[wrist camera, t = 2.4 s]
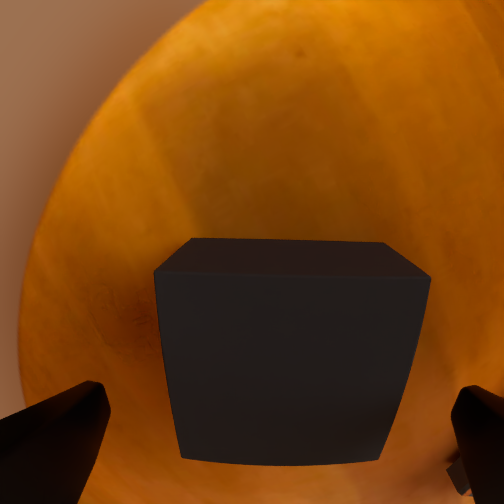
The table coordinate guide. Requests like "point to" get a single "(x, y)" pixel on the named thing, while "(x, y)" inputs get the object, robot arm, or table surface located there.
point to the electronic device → (459, 478)
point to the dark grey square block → (287, 347)
